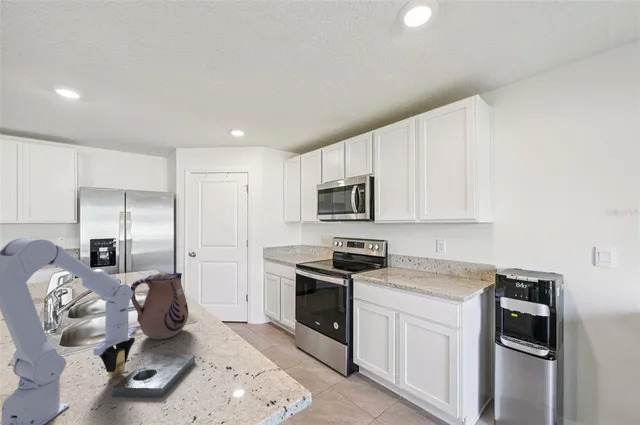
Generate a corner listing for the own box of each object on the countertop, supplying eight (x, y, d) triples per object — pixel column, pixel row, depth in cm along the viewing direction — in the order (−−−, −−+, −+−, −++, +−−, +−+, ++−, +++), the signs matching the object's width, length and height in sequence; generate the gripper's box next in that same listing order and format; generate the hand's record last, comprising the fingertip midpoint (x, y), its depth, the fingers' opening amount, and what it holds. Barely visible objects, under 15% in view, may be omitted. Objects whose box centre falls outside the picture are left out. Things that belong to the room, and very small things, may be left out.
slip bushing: (117, 377, 82) (118, 353, 82) (105, 377, 82) (105, 353, 82) (127, 370, 86) (128, 347, 86) (115, 369, 86) (115, 347, 86)
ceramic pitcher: (197, 331, 117) (197, 273, 117) (144, 353, 99) (145, 283, 99) (173, 323, 126) (173, 269, 126) (121, 342, 108) (121, 278, 108)
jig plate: (162, 397, 74) (162, 388, 75) (112, 396, 75) (112, 387, 75) (194, 362, 92) (195, 354, 93) (154, 361, 93) (154, 354, 93)
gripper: (110, 332, 77) (110, 381, 77) (145, 314, 92) (145, 355, 91) (86, 332, 77) (86, 381, 77) (125, 314, 92) (124, 355, 92)
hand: (116, 367), depth 84 cm, fingers closed on slip bushing, 4 cm apart
